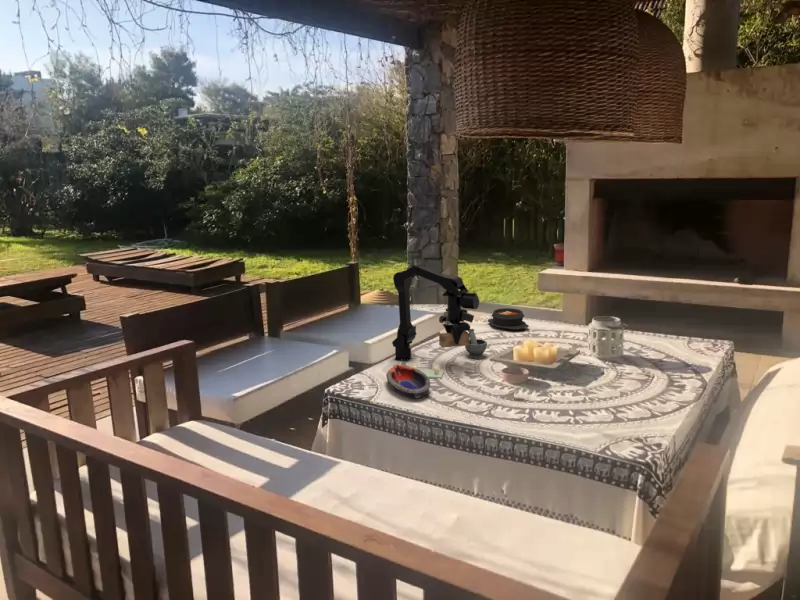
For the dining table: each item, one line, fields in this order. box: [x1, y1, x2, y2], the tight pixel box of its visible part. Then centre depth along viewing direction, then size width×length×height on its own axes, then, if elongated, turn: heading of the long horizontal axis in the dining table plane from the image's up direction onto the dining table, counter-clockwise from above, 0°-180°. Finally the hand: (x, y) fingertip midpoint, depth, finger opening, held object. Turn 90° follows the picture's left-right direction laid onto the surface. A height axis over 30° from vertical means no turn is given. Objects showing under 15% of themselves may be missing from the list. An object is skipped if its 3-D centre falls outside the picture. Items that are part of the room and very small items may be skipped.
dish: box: [385, 364, 431, 399], centre depth 253 cm, size 16×31×5 cm, turn 14°
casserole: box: [487, 307, 530, 330], centre depth 339 cm, size 25×19×8 cm
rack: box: [411, 363, 445, 380], centre depth 267 cm, size 14×9×4 cm, turn 81°
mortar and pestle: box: [464, 328, 488, 360], centre depth 289 cm, size 11×9×12 cm
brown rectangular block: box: [438, 331, 470, 349], centre depth 274 cm, size 12×4×5 cm, turn 105°
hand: (454, 342), depth 274 cm, fingers closed on brown rectangular block, 5 cm apart
